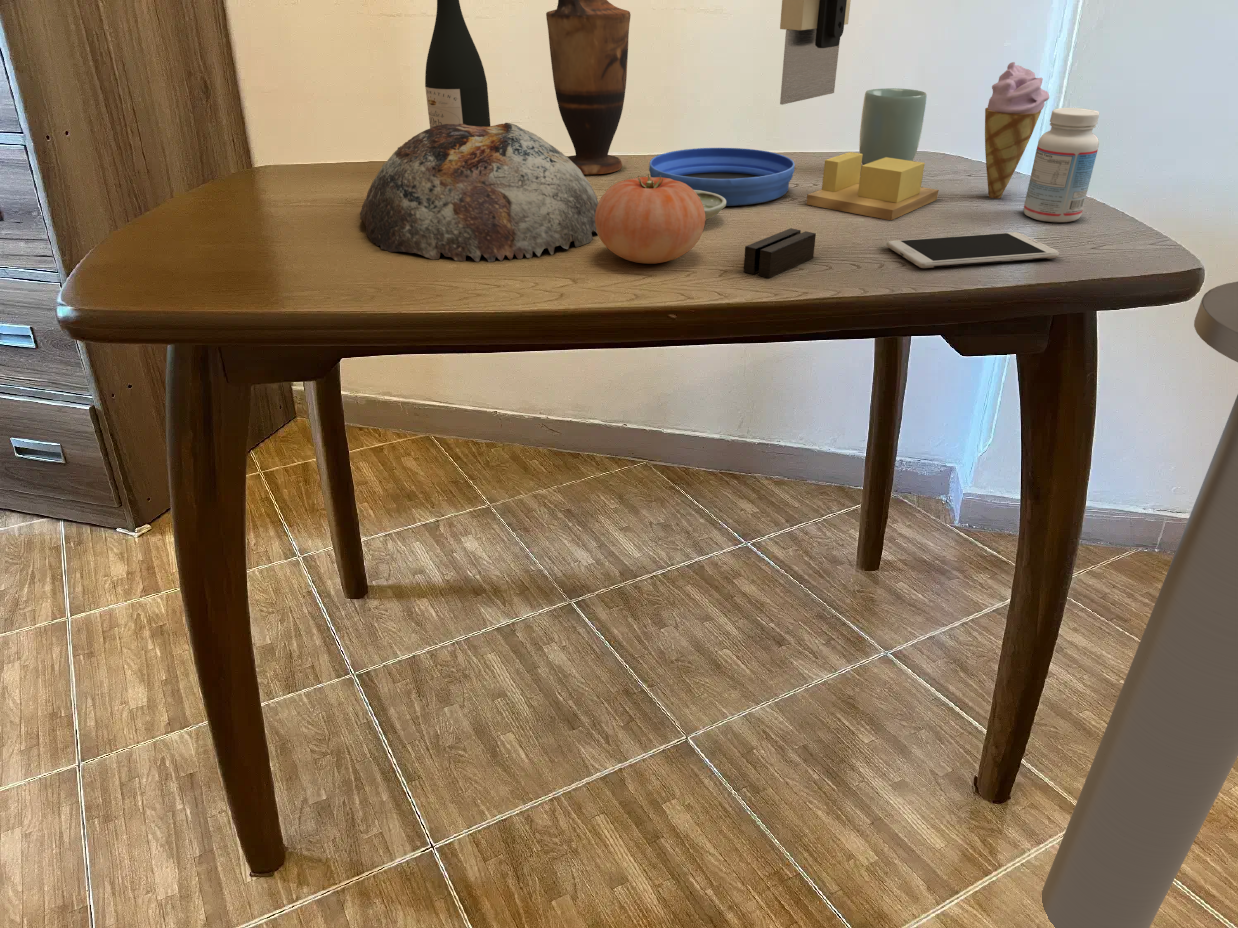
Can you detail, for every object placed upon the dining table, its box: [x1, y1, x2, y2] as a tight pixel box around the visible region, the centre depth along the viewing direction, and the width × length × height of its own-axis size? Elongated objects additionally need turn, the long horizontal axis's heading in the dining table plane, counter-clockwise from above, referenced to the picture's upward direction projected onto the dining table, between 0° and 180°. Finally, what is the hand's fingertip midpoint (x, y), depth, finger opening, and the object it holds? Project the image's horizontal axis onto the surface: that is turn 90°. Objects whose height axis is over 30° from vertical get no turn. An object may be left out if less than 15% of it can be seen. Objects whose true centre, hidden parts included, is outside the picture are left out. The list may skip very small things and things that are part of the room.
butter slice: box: [821, 151, 863, 192], centre depth 106 cm, size 2×6×4 cm, turn 138°
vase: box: [545, 0, 631, 176], centre depth 114 cm, size 11×11×30 cm
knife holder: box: [743, 227, 817, 279], centre depth 84 cm, size 3×8×2 cm, turn 138°
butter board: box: [805, 178, 939, 221], centre depth 105 cm, size 11×12×1 cm
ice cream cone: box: [984, 61, 1050, 199], centre depth 103 cm, size 7×6×15 cm
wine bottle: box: [424, 0, 491, 129], centre depth 112 cm, size 8×8×30 cm
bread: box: [359, 122, 599, 263], centre depth 98 cm, size 27×32×10 cm
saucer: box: [694, 190, 727, 221], centre depth 98 cm, size 10×10×2 cm
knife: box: [779, 0, 851, 106], centre depth 79 cm, size 2×9×8 cm, turn 138°
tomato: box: [595, 172, 706, 265], centre depth 85 cm, size 11×11×8 cm
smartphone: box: [886, 231, 1060, 269], centre depth 87 cm, size 8×1×15 cm
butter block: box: [858, 157, 926, 203], centre depth 103 cm, size 5×6×4 cm
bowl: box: [648, 147, 796, 207], centre depth 110 cm, size 18×18×4 cm
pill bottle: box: [1023, 107, 1100, 223], centre depth 96 cm, size 6×6×11 cm
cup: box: [858, 88, 928, 165], centre depth 117 cm, size 8×8×10 cm
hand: (813, 44), depth 79 cm, fingers closed on knife, 2 cm apart
